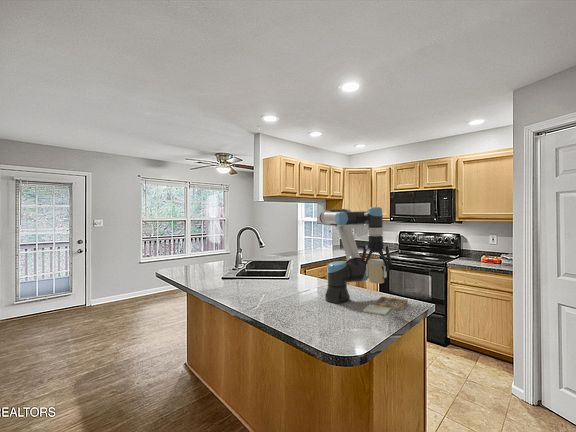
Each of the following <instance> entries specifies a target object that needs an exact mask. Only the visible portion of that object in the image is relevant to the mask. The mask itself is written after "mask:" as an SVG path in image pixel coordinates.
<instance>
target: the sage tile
mask: <svg viewBox="0 0 576 432" xmlns="http://www.w3.org/2000/svg"><path fill="white" fill-rule="evenodd" d="M391 310H392V309H391V308H390V307H384V306H377V305H374V304H371V303H370V304H369V305H367V306H366V307H365V308H364V309H363V310H362V312H363V313H369V314H375V315H380V316H387V314H388V313H389V312H390V311H391Z"/></svg>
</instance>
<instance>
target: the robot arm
mask: <svg viewBox="0 0 576 432" xmlns="http://www.w3.org/2000/svg"><path fill="white" fill-rule="evenodd" d="M383 216H384V215H383V208H382V207H381V206H380V207H379V206H377V207H368V209H367V211H365V210H363V211H351V210H350V209H348V208H346V209H345V208H339V209H337V208H335V209H330V208H329V209H325V210H323V211H321V212H320V213H319V219H318V220H319V221H320V223H321V224H323V225H325V226H329V227H330V226H332V227H333V226H335V229H336V230H337V231H338V232H339V237H340V239H341V242H342V243H341V244H342V247H343V250H344V254H345V257H346V261H344V260H339V261H338V260H337V261H332V262H330V263H328V264H327V270H326V273H327V289H326V292H325V294H324V295H325V300H324V301H326V302H328V303H332V304H333V303H334V304H344V303H348V302H350V301H351V296H350V294H349V290H348V285H347V283H353V282H354V283H357V282H358V283H359V282H360V283H362V282H365V281H368V280H369V273H368V262H367V261H368V260H369V259H371V256H373V253H378V254H379V256H380V257H381V258H380V259H382V260H383V262H384V263H385V265H384V279H386V278H387V277H388V276H387V275H388V273H387V272H389V266H390V265H392V263H393V262H392V258H391V254H390V246H389V245H384V236H383V233H384V231H383V230H384V229H383V227H384V226H383ZM354 225H367V226H368V235H369V236H368V244H364V245H362V248H363V249H362V250H363V251H362V255H361V256H360V252H359V250H358V246H357V242H356V240H355V237H354V233H353V230H352V226H354ZM368 249H369V251H367V250H368ZM383 249H384V251H385V254H384V251H383ZM367 252H368V254H367ZM366 255H367V256H366ZM385 255H386V256H385Z"/></svg>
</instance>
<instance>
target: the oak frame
mask: <svg viewBox="0 0 576 432" xmlns="http://www.w3.org/2000/svg"><path fill="white" fill-rule="evenodd" d="M383 301H386V302H391V303H392V302H394V303H399V304H400V303H401V304H400V305H397V304H396V305H395V304H389V303H382V302H383ZM406 304H408V299H403V298H396V297H395V298H394V297H388V296H380V297H379V298H377V300H375V301H374V304H373V305H377V306H384V307H390V308H391V310H396V311H397V310H399V311H403V310H404V309H405V307H406V306H407V305H406Z"/></svg>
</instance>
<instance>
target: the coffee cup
mask: <svg viewBox="0 0 576 432" xmlns="http://www.w3.org/2000/svg"><path fill="white" fill-rule="evenodd" d="M367 262H368V273H369V278H368V281H369V283H371V284H384V283H385V278H384V265H385V263H384V262H383V260H382V258H370V259H369V260H368V261H367Z"/></svg>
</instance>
